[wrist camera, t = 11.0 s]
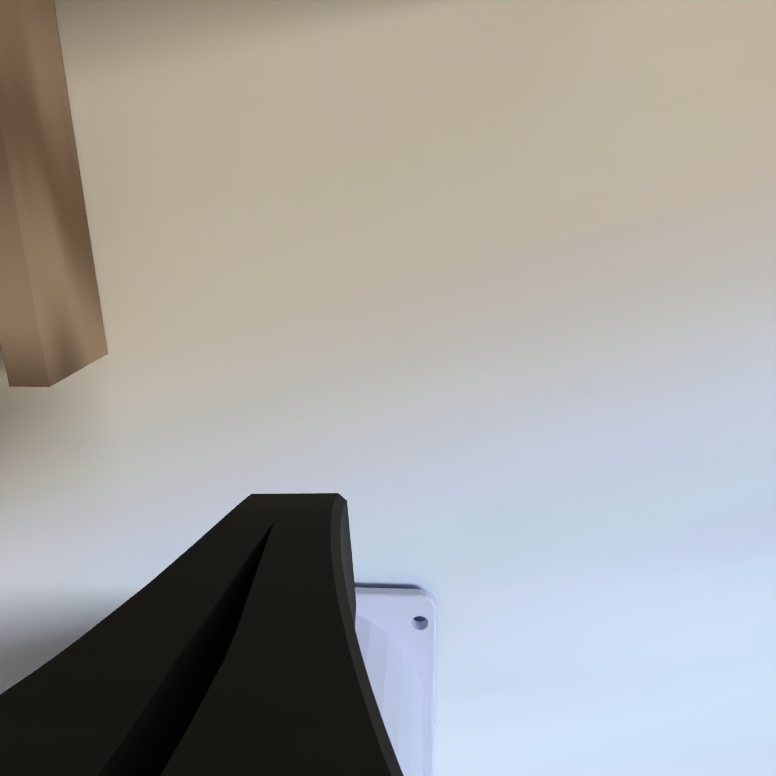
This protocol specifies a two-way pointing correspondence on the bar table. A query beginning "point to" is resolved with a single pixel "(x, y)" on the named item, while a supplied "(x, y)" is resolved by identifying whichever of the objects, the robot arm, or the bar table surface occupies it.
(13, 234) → the display bay
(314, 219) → the bar table surface
